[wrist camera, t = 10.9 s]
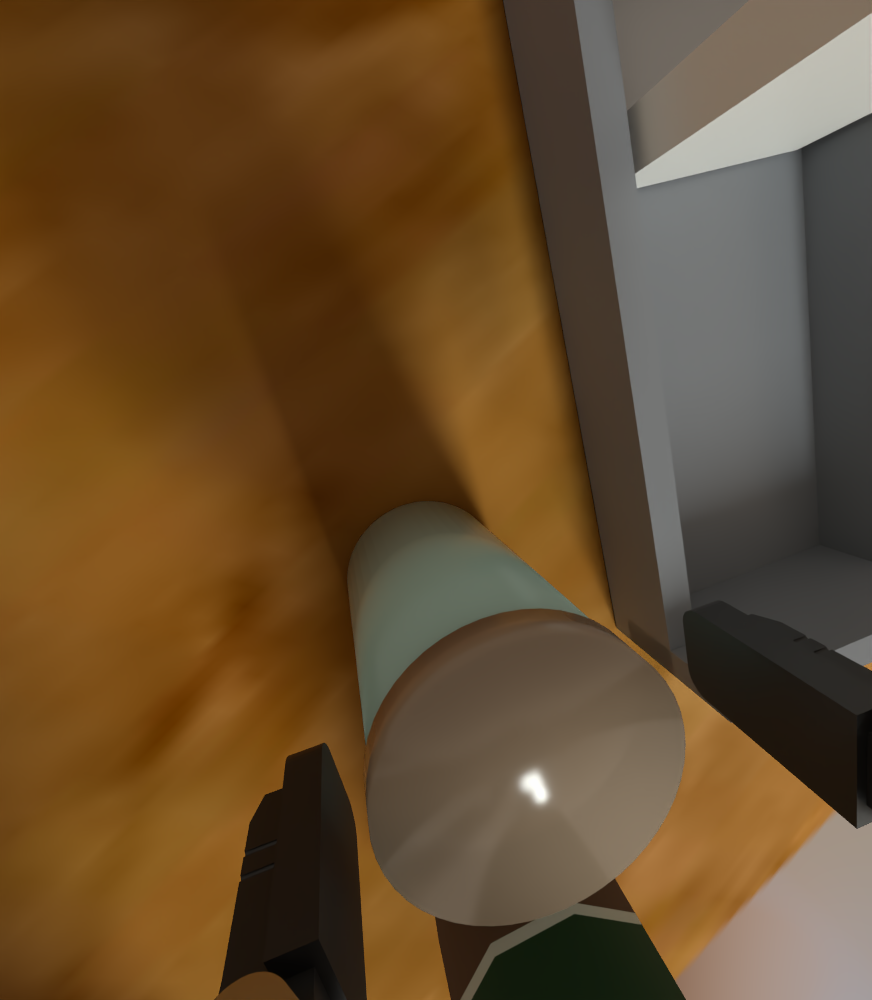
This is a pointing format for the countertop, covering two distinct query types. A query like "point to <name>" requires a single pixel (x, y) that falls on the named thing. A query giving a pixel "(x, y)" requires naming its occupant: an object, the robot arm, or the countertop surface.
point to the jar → (498, 726)
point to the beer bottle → (558, 956)
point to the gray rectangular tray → (708, 353)
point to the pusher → (738, 78)
